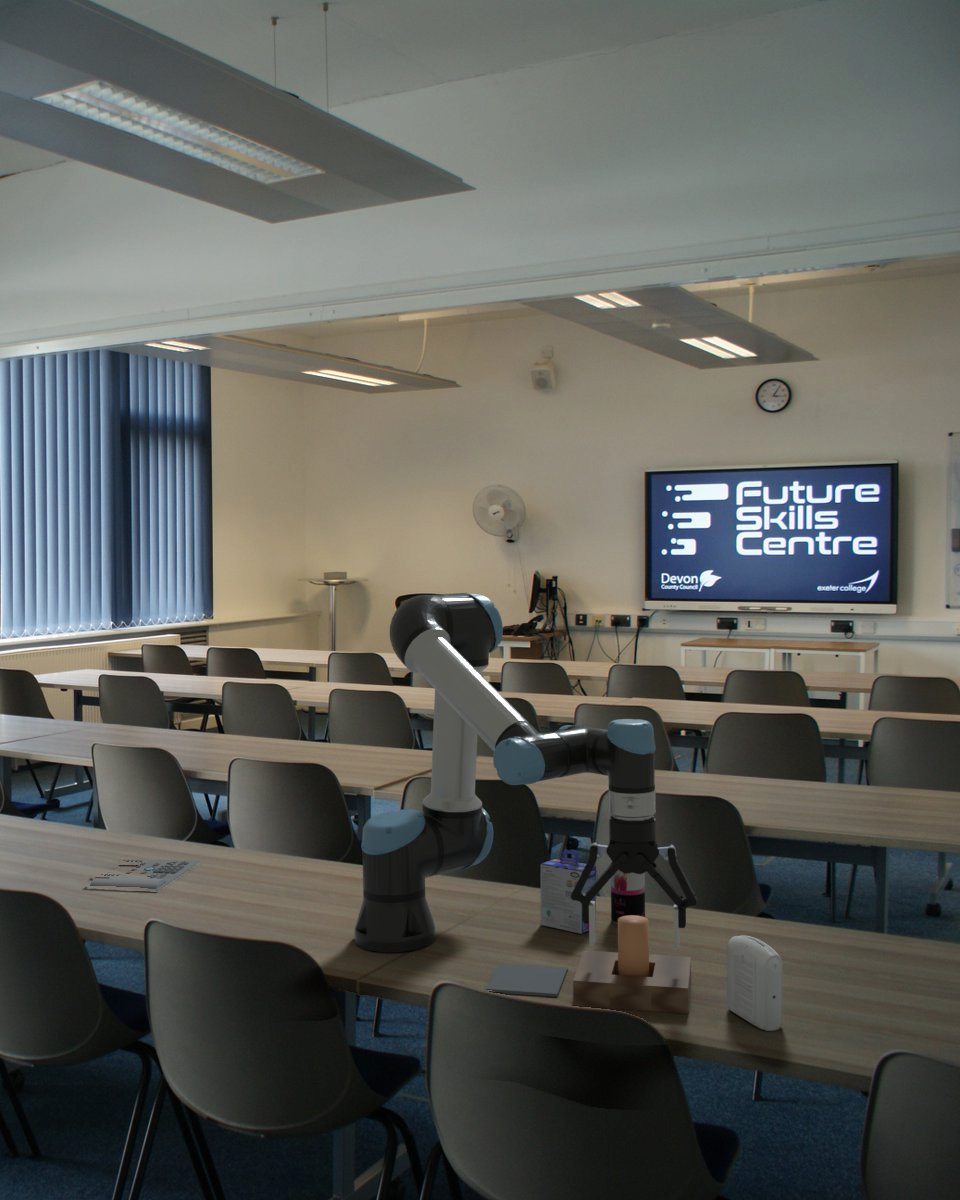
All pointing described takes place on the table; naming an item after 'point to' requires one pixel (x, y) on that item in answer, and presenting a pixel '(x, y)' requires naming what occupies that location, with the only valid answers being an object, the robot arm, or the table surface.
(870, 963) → the table surface
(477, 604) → the robot arm
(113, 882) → the office telephone
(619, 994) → the pocket block
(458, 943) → the table surface
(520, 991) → the mat
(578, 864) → the ink cartridge box
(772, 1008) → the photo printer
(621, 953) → the peg
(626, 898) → the beverage can
